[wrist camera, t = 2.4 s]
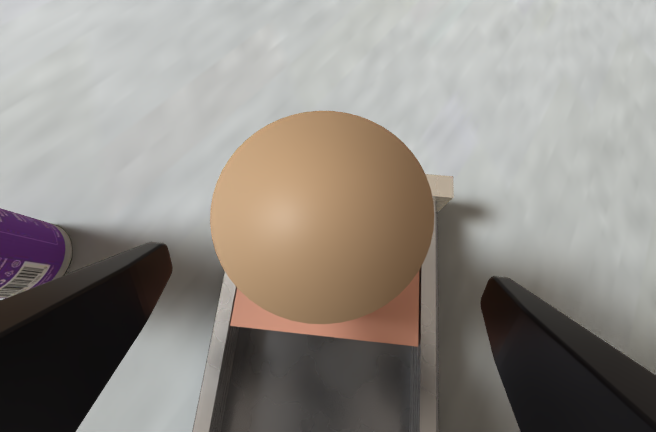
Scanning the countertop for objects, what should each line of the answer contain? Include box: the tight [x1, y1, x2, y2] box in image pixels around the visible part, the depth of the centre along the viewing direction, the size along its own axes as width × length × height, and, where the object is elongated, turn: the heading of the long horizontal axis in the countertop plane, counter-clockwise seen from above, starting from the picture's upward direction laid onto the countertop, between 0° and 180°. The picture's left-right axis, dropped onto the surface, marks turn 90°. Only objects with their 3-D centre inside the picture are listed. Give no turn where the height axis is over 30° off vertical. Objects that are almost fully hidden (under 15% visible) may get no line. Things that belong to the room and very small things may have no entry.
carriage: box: [210, 111, 434, 347], centre depth 11 cm, size 6×9×12 cm
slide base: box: [192, 174, 454, 432], centre depth 15 cm, size 21×12×4 cm, turn 174°
